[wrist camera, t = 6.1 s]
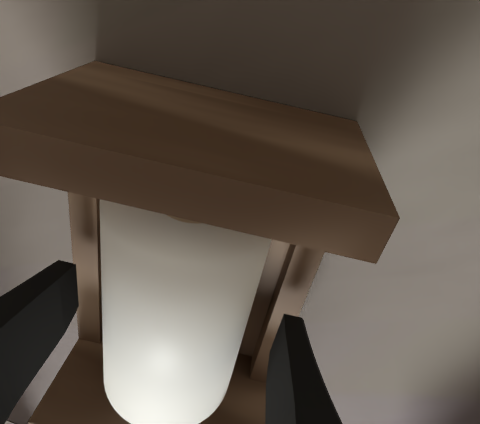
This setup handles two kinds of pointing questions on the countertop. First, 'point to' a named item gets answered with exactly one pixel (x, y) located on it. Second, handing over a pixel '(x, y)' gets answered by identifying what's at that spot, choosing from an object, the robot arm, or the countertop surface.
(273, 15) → the countertop surface
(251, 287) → the roll
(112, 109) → the holder
